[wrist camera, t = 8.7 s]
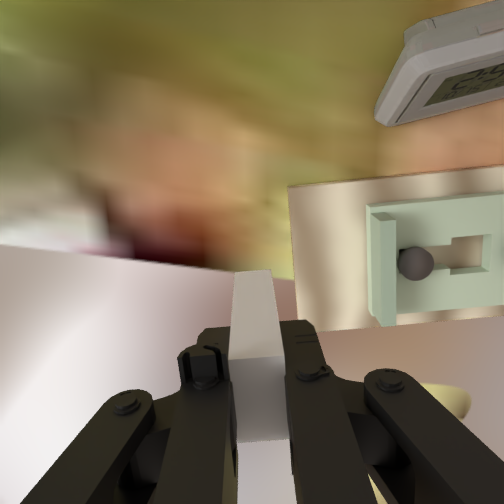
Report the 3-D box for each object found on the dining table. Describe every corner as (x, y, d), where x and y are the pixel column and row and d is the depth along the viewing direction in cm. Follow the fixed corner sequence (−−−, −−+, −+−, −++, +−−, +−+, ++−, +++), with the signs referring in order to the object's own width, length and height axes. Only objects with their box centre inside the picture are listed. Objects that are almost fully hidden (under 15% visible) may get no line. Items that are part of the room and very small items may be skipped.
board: (298, 327, 42) (302, 349, 38) (287, 186, 38) (291, 194, 34) (599, 301, 41) (637, 320, 37) (622, 152, 36) (667, 156, 32)
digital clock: (363, 127, 36) (405, 129, 26) (366, 9, 34) (414, -41, 23) (555, 118, 36) (674, 116, 26) (574, -2, 33) (714, -58, 23)
